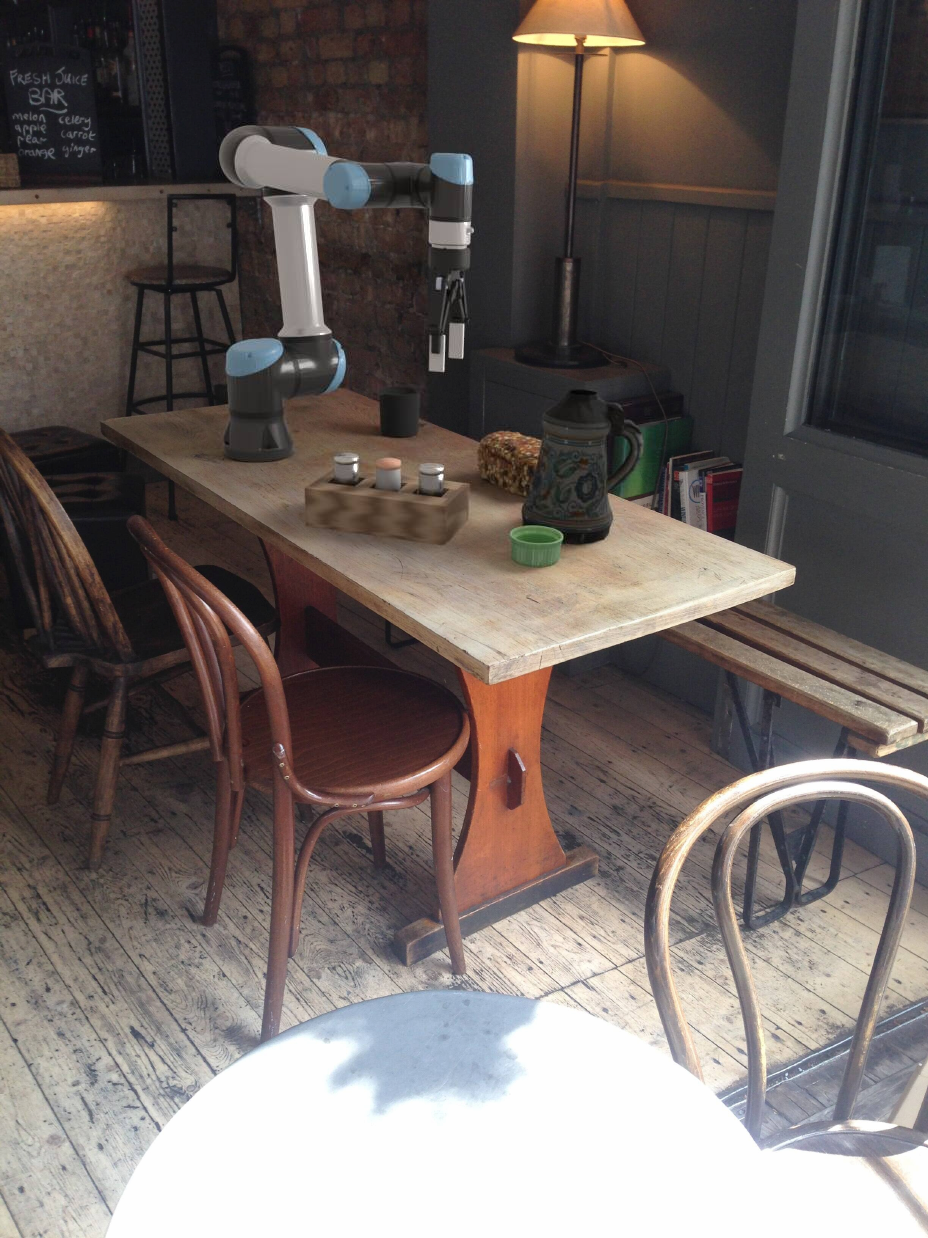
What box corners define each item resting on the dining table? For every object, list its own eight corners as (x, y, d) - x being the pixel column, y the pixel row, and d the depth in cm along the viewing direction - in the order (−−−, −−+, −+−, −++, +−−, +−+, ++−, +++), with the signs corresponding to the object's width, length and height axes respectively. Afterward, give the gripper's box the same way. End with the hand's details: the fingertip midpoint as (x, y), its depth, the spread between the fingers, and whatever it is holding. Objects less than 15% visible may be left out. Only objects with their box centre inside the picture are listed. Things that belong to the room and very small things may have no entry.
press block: (305, 525, 194) (304, 487, 192) (336, 502, 207) (336, 466, 204) (444, 545, 188) (445, 506, 185) (468, 520, 200) (469, 483, 197)
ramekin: (529, 545, 190) (530, 521, 188) (572, 558, 184) (574, 534, 183) (497, 559, 183) (498, 534, 181) (541, 573, 178) (542, 547, 176)
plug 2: (414, 504, 192) (415, 468, 189) (422, 496, 196) (423, 461, 193) (438, 507, 191) (439, 471, 188) (446, 500, 195) (447, 464, 192)
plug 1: (330, 493, 196) (329, 457, 193) (340, 486, 200) (339, 451, 197) (353, 496, 195) (353, 460, 192) (362, 489, 199) (362, 454, 196)
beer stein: (506, 519, 202) (513, 383, 191) (600, 510, 208) (612, 378, 198) (543, 549, 188) (553, 405, 177) (643, 539, 194) (658, 399, 184)
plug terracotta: (372, 498, 194) (372, 462, 191) (381, 491, 198) (381, 456, 195) (395, 501, 193) (395, 465, 190) (404, 494, 197) (404, 459, 194)
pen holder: (426, 431, 257) (427, 389, 253) (407, 440, 249) (408, 396, 245) (391, 426, 261) (391, 384, 256) (371, 434, 253) (371, 391, 249)
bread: (475, 478, 225) (477, 430, 220) (516, 471, 230) (518, 424, 226) (531, 503, 211) (534, 453, 207) (573, 495, 217) (577, 446, 212)
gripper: (451, 253, 186) (448, 378, 194) (486, 241, 208) (481, 354, 217) (409, 250, 187) (407, 375, 196) (447, 238, 209) (445, 351, 218)
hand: (446, 364), depth 206 cm, fingers open, 13 cm apart
